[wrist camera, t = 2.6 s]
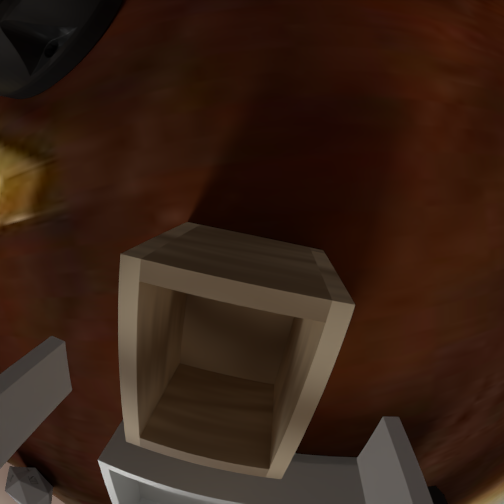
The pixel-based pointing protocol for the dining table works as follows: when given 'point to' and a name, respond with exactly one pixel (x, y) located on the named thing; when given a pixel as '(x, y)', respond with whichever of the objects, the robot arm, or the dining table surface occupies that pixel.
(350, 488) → the large grey crate
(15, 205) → the dining table surface
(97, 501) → the dining table surface
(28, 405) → the robot arm
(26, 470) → the die
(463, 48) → the dining table surface
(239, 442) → the small oak crate
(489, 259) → the dining table surface
